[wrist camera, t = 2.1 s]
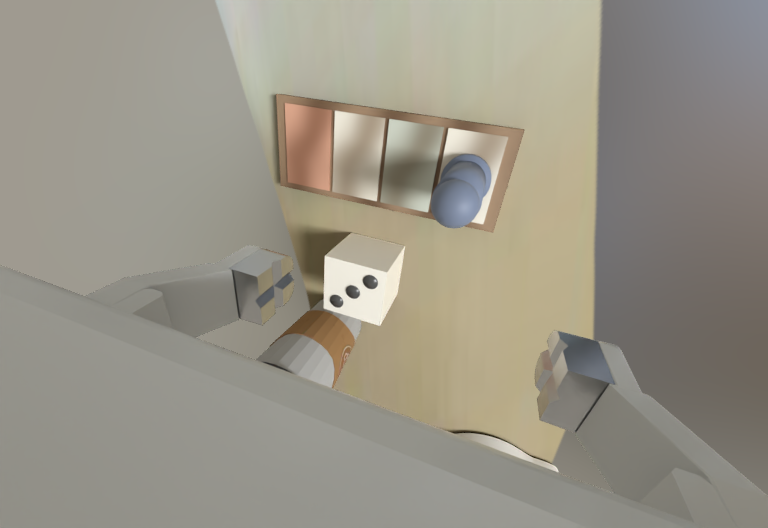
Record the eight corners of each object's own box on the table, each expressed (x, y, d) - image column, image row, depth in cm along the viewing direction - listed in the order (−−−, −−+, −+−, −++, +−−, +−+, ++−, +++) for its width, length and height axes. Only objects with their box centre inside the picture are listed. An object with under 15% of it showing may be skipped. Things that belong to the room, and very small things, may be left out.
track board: (523, 129, 24) (524, 130, 23) (493, 228, 28) (493, 233, 27) (282, 94, 29) (274, 94, 28) (286, 183, 33) (279, 186, 32)
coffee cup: (359, 353, 41) (297, 464, 28) (304, 324, 42) (220, 419, 29) (379, 307, 37) (315, 415, 24) (317, 276, 38) (224, 364, 25)
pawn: (498, 191, 26) (497, 229, 18) (453, 209, 28) (434, 251, 20) (480, 144, 25) (471, 163, 17) (434, 166, 27) (407, 193, 19)
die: (405, 245, 32) (386, 273, 27) (397, 293, 35) (379, 326, 30) (351, 232, 33) (324, 256, 28) (348, 279, 36) (323, 308, 31)
